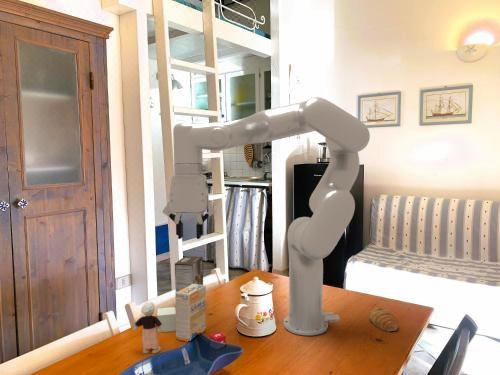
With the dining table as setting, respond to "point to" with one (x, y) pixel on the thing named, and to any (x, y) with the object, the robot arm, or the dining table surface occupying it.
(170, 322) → the sage block
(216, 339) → the dice
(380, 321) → the pastry
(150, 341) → the grandmother figurine
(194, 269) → the coffee box
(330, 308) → the dining table surface
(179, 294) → the supplement box
